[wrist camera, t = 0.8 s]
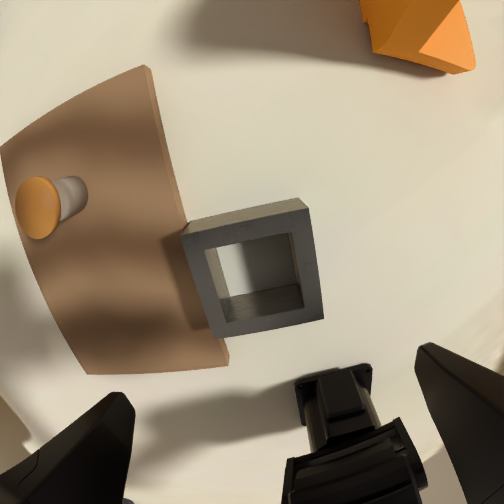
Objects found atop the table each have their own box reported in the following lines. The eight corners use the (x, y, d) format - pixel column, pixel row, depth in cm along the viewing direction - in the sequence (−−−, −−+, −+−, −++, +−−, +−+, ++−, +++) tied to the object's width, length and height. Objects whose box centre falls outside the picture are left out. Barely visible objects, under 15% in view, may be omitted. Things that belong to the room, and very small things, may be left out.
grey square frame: (314, 293, 18) (324, 318, 16) (219, 312, 19) (214, 339, 16) (298, 197, 16) (308, 207, 13) (191, 221, 17) (179, 235, 14)
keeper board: (229, 355, 20) (224, 408, 15) (92, 365, 21) (68, 405, 16) (150, 69, 13) (113, 42, 8) (9, 146, 14) (-38, 153, 9)
